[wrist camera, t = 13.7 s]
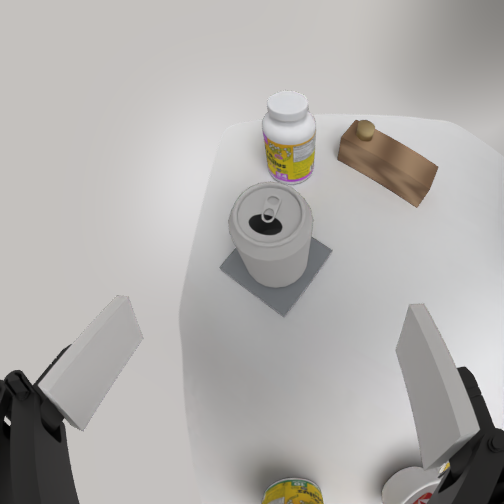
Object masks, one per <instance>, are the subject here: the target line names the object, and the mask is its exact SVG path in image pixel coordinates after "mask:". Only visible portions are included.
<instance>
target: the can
mask: <svg viewBox="0 0 504 504" xmlns="http://www.w3.org/2000/svg"><path fill="white" fill-rule="evenodd" d="M228 222H229V233H230V235H231V237H232V240H233V242H234V244H235V246H236V248H237V250H238V252H239V254H240V256H241V258H242V260H243V262H244V264H245V266H246V268H247V270H248V272H249V274H250V275H251V276H252V277H253V278H254V279H255V280H256V281H257V282H258V283H260V284H262V285H264V286H267V287H273V288H279V287H286V286H288V285H290V284H292V283H294V282H295V281H297V280H298V279H299V278H300V277H301V276H302V274H303V273H304V271H305V269H306V267H307V261H308V255H309V248H310V241H311V234H312V227H313V216H312V211H311V208H310V206H309V205H308V203H307V202H306V200H305V199H304V198H303V197H302V196H301V195H300V194H299V193H298V192H297V191H296V190H294V189H293V188H292V187H290V186H288V185H285V184H283V183H279V182H264V183H258V184H256V185H254V186H251V187H249V188H248V189H247V190H245V191H244V192H243V193H242V194H241V195H240V196H239V198H238V199H237V200H236V202H235V204H234V207H233V208H232V210H231V213H230V217H229V220H228Z"/></svg>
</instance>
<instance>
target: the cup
mask: <svg viewBox="0 0 504 504" xmlns="http://www.w3.org/2000/svg"><path fill="white" fill-rule="evenodd" d="M447 463H449V460H448V461H447V462H446V463H445V464H447ZM445 464H443V465H442V466H441V467H438V468H434V469H430V470H427V471H423V468H421V467H408V468H405V469H402V470H400V471H398V472H397V473H395V474H394V475H393V476H392V477H391V478H390V479H389V480H388V481H387V482H386V484H385V485H384V487H383V490H382V501H383V504H426V503H427V502H428V500H429V499H430V497H431V496H432V494H433V493H434V491H435V489H436V488H437V486H438V484H439V483H440V481H441V479H442V478H443V476H444V475H443V476H442V477H441V478H437V477H438V476H439V475H440V474H441V473H439V471H440V469H441V468H442V467H443V466H444V465H445Z"/></svg>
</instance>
